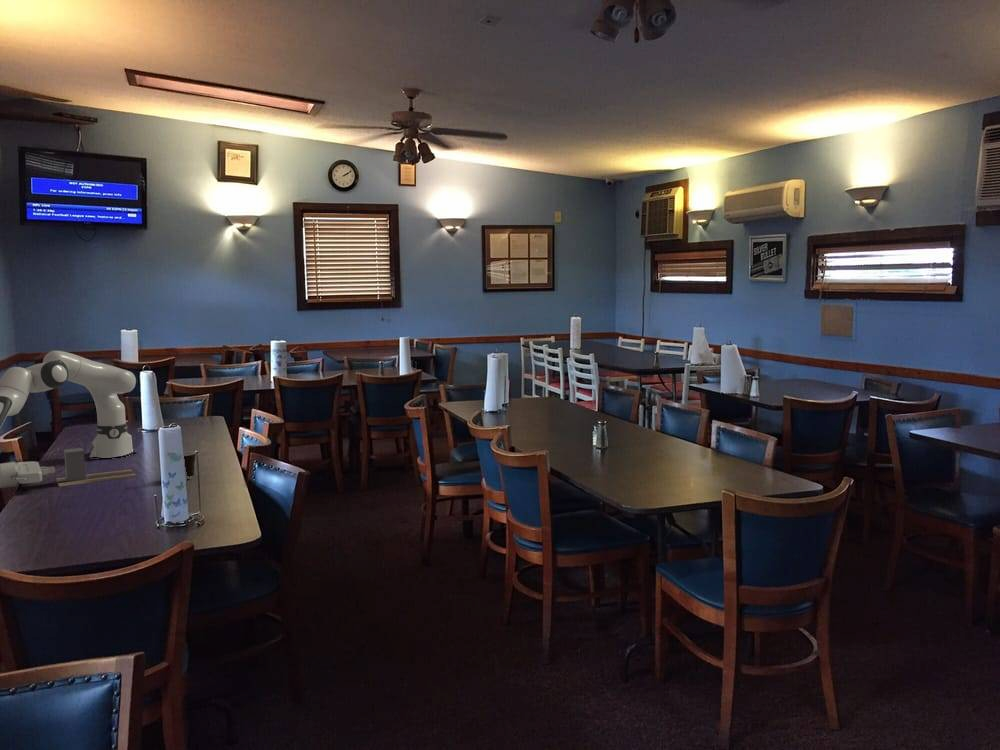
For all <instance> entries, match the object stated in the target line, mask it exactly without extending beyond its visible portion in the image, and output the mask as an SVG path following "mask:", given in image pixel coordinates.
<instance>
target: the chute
mask: <svg viewBox="0 0 1000 750" xmlns="http://www.w3.org/2000/svg"><path fill="white" fill-rule="evenodd" d="M85 478H86V480H79V481H71V482H66V476H65V477H58V478H56V479H55V480H56V482H57V486H58V487H67V486H72V485H73V486H75V485H80V484H81V485H82V484H89V483H95V482H96V483H97V482H105V481H113V480H119V479H129V478H137V474H136V473H133V469H124V470H115V471H108V472H99V473H90V474H85Z"/></svg>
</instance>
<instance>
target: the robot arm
mask: <svg viewBox="0 0 1000 750" xmlns="http://www.w3.org/2000/svg"><path fill="white" fill-rule="evenodd" d="M67 382H71V383H75V384H77V385H80V386H84V387H85V388H86V390H88V391H89V393H90V395H91V397H92V399H93V401H94V404H95V405H94V406H95V408H96V418H97V419H96V420H97V425H96V428H95V429H96V434H97V435H96V436H95V437H94V439H93V440H92V441H91V447H92V450H91V452H90V454H89V458H90V457H100V458H111V457H117V456H123V455H126V454H129V453H131V452H133V450H134V449H133V440H132V439H133V437H132V434H130V433H128V424H127V422H126V419H127V418H126V406H125V403H123V402H122V401H121V400H120V398H119V396H118V395H122V394H126V393H130V392H132V391H133V390H134V389H135V387H136V383H137V378H136V376H135V374H134V373H133V372H132V371H129V370H127V369H123V368H120V367H117V366H114V365H110V364H107V363H102V362H99V361H94V360H91V359H88V358H85V357H83V356H81V355H78V354H75V353H70V352H67V351H64V350H51V351H49V352H48V353H47V354H45V356H44V357H43V360H42V363H41V362H40V363H36V364H34V365H31V366H27V367H21V366H12V367H9V368H8V369H7V370H6V371H5V372H4V373H3V375H2V376H1V378H0V429H1V428H2V426H3V425H4V422H5V420H6V419H7V417H11V416H15V415H17V414H19V413H20V411H21V410H22V409H23V407H24V405H25V403H26V401H27V400H28V398H29V394H31V395H32V394H36V393H43V392H44V393H45V392H47V391H50V390H54V389H57V388H60V387H62V386H64V385H65V384H66V383H67ZM55 473H56V468H55V466H41V465H40V464H39V462H38V461H33V460H32V461H20V462H19V461H18V462H16V461H15V460H14V461H8V462H3V463H0V489H3V488H4V489H5V488H13V487H18V484H23V485H24V484H34V483H40V482H43V476H46V475H49V474H55Z"/></svg>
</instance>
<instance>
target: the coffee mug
mask: <svg viewBox="0 0 1000 750" xmlns="http://www.w3.org/2000/svg"><path fill="white" fill-rule="evenodd" d="M183 451H184V459H185V467H186V472H187V476H189V477H190V476H193V475H194V476H195V468H196V454H197V453H196V451H192V450H191V451H190V450H189V451H188V450H186V451H185V450H183Z"/></svg>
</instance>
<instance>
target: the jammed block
mask: <svg viewBox="0 0 1000 750" xmlns="http://www.w3.org/2000/svg"><path fill="white" fill-rule="evenodd" d="M84 451H85V450H84V448H83V447H77V448H67V449H66V448H65V449H63V455H64V458H63V459H64V469H65V470H64V471H65V477H66V481H65V482H71V481H79V480H87V478H85V475H86V467H85V466H86V465H85V464H86V463H85V452H84Z"/></svg>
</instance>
